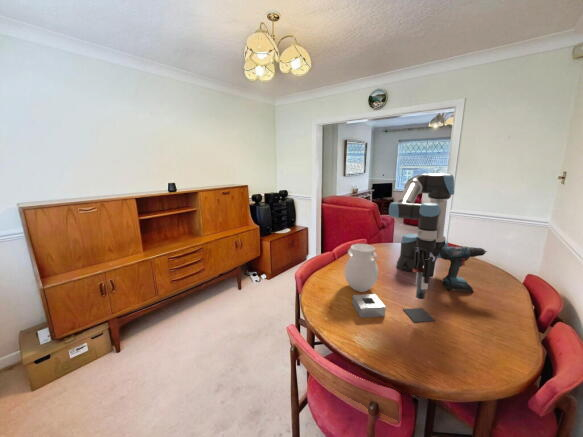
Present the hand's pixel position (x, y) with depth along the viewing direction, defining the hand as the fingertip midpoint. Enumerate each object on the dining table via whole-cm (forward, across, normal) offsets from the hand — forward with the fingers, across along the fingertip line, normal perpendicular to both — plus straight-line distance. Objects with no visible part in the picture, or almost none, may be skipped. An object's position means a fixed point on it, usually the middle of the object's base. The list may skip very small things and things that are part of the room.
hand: (421, 286), depth 115 cm
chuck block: (+15, -7, -22) cm, 28 cm away
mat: (+15, 0, 0) cm, 15 cm away
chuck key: (+5, 0, 0) cm, 5 cm away
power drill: (+15, -22, +37) cm, 46 cm away
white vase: (+15, -29, -18) cm, 37 cm away
